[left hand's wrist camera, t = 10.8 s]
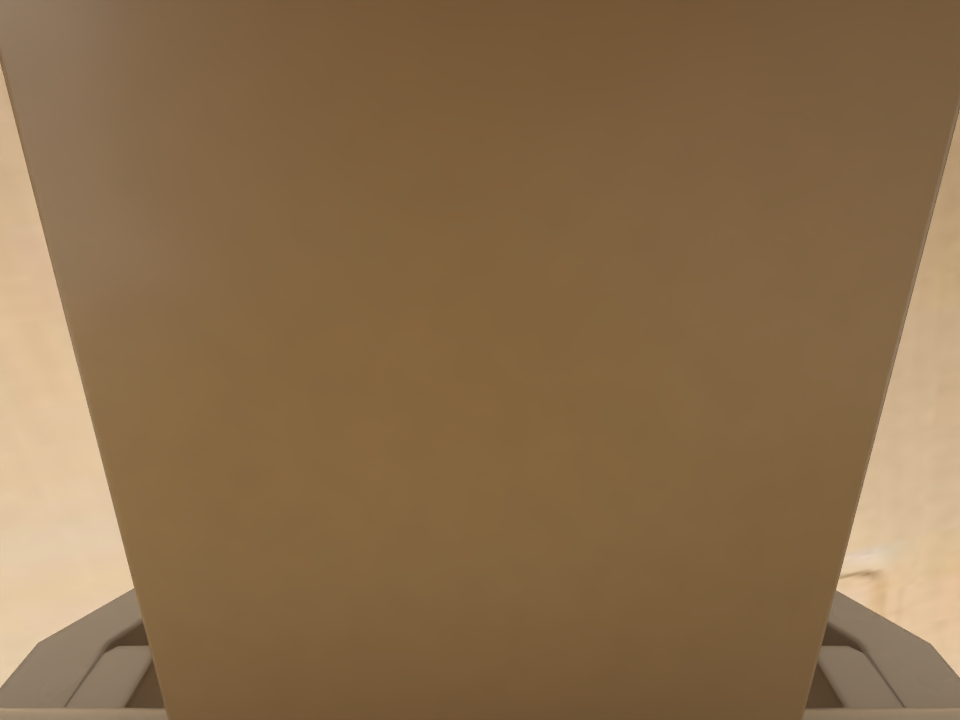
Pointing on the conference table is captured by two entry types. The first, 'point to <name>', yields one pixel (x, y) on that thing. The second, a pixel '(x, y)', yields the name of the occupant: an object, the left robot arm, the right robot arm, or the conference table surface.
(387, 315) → the bar
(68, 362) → the conference table surface
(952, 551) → the conference table surface
